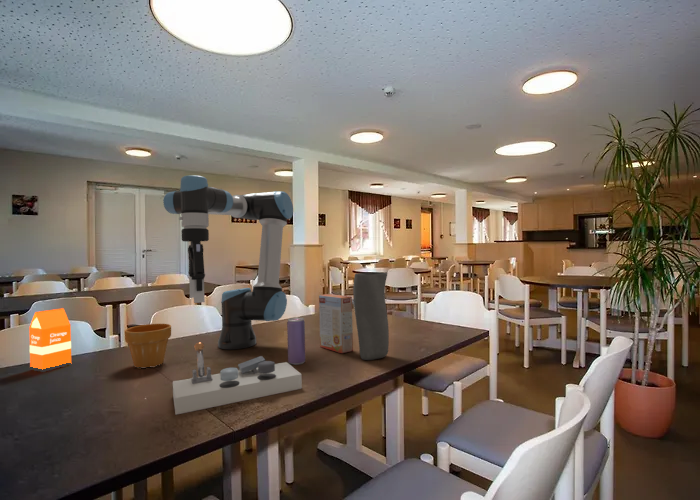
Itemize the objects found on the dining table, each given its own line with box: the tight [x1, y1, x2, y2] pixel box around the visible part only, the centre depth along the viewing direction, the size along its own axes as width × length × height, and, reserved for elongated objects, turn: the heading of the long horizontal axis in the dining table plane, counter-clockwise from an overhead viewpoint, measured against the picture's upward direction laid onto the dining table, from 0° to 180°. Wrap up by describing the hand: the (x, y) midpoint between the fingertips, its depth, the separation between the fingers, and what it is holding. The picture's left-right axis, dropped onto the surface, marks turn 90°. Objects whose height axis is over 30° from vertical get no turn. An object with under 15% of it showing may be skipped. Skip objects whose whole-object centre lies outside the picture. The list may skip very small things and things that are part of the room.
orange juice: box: [28, 307, 72, 370], centre depth 128 cm, size 8×9×20 cm
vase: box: [352, 271, 390, 361], centre depth 131 cm, size 12×12×30 cm
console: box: [172, 361, 303, 416], centre depth 102 cm, size 13×32×7 cm, turn 118°
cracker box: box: [318, 293, 354, 354], centre depth 143 cm, size 14×6×21 cm, turn 40°
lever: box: [193, 341, 206, 377], centre depth 103 cm, size 3×3×10 cm
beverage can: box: [286, 317, 307, 366], centre depth 127 cm, size 6×6×15 cm
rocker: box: [237, 355, 267, 373], centre depth 106 cm, size 4×7×1 cm, turn 118°
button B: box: [219, 367, 239, 381], centre depth 97 cm, size 4×4×2 cm
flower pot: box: [124, 323, 172, 367], centre depth 128 cm, size 14×14×13 cm
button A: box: [258, 360, 276, 373], centre depth 102 cm, size 4×4×2 cm
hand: (196, 300), depth 111 cm, fingers open, 12 cm apart
